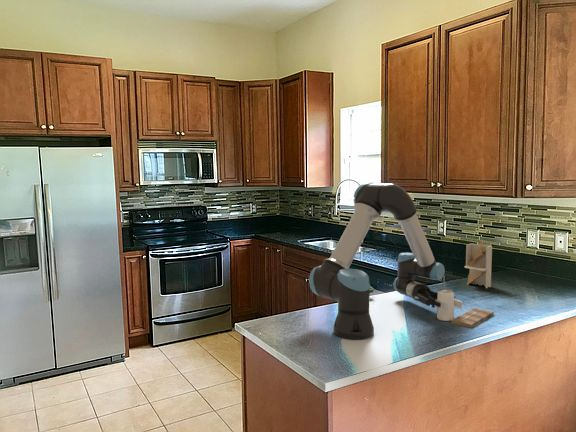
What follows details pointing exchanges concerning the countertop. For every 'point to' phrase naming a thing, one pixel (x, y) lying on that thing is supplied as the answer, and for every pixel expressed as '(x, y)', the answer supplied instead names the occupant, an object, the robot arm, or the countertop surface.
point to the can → (448, 298)
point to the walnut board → (472, 317)
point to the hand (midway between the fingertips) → (454, 306)
